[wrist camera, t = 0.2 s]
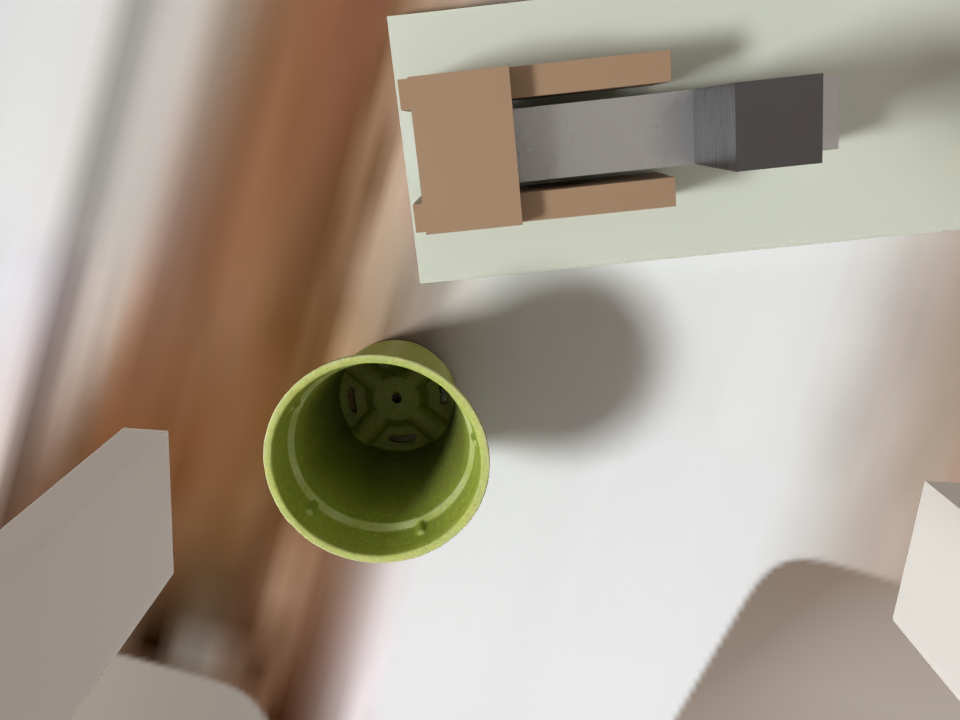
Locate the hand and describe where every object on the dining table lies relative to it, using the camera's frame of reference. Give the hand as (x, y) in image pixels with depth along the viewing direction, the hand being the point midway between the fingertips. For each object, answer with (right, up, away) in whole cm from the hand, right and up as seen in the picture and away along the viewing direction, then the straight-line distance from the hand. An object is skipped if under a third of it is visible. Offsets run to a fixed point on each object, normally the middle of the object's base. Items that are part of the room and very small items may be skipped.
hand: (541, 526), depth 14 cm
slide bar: (+5, +13, +23) cm, 27 cm away
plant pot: (-5, +1, +28) cm, 29 cm away
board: (+10, +14, +24) cm, 30 cm away
